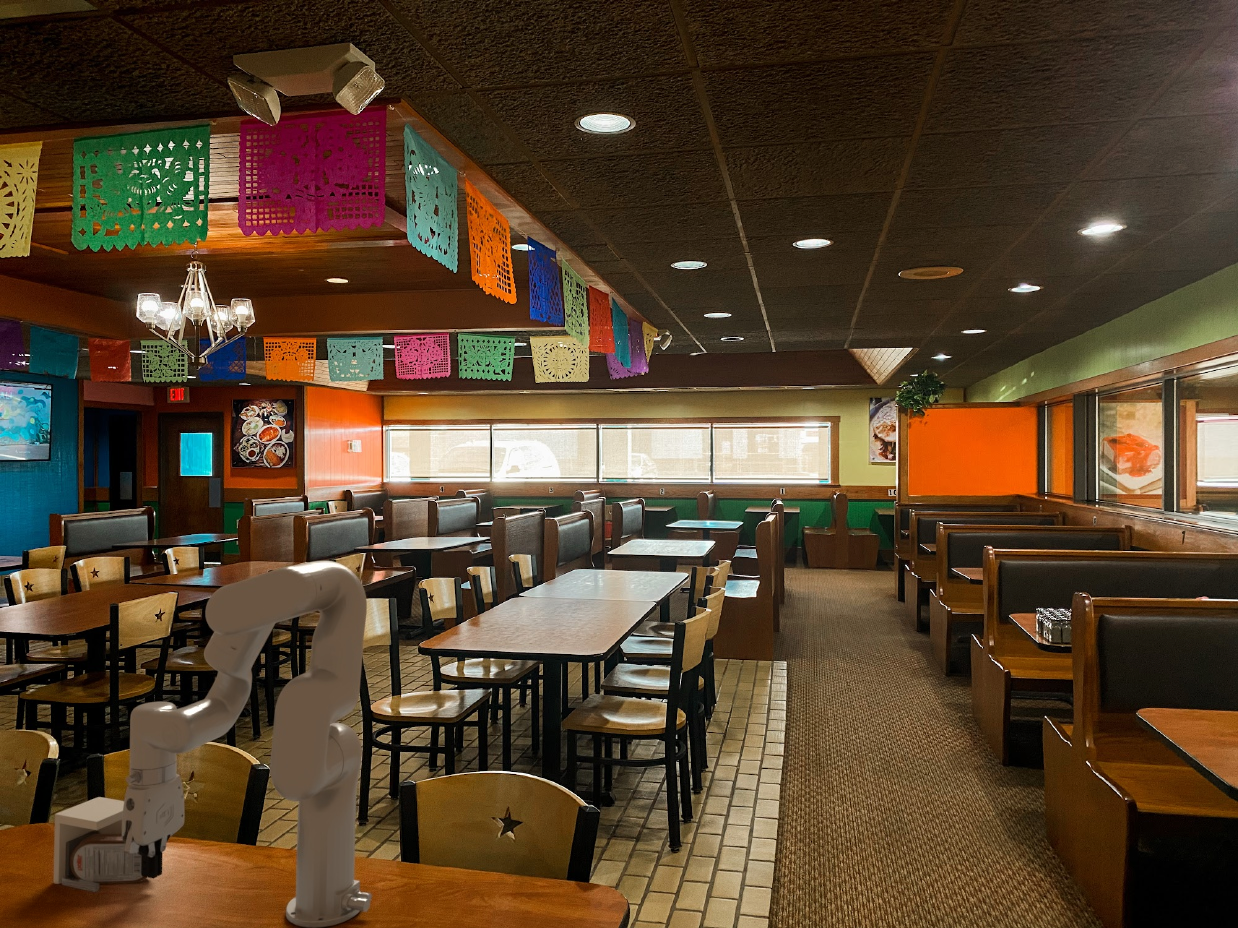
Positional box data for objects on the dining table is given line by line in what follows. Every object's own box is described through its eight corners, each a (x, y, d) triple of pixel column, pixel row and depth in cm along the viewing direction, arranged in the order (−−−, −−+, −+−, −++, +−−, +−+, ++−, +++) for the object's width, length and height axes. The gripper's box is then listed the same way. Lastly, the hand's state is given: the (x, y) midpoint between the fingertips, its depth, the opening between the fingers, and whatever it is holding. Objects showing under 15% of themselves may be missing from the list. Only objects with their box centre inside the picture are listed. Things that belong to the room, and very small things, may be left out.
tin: (161, 876, 161) (162, 831, 161) (153, 884, 158) (154, 838, 158) (76, 878, 160) (77, 832, 160) (66, 886, 156) (67, 839, 157)
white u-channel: (137, 870, 163) (139, 803, 163) (95, 891, 155) (96, 821, 155) (97, 861, 166) (98, 796, 167) (53, 882, 158) (55, 813, 158)
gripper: (134, 789, 148) (132, 897, 148) (201, 762, 162) (200, 861, 162) (100, 784, 151) (99, 890, 150) (170, 757, 165) (168, 855, 165)
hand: (151, 875), depth 156 cm, fingers closed
